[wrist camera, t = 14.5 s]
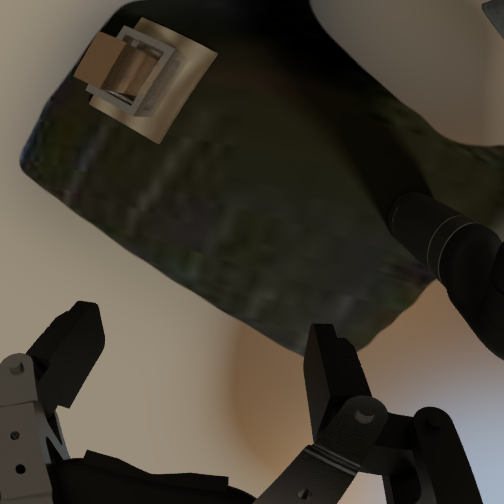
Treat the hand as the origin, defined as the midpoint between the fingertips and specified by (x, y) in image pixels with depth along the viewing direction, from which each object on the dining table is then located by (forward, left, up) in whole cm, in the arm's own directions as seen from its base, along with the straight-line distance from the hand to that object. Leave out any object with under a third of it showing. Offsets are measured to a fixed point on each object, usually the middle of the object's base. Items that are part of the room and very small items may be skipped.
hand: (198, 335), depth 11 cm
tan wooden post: (+15, -15, -37) cm, 43 cm away
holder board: (+15, -15, -38) cm, 43 cm away
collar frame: (+15, -15, -38) cm, 43 cm away
